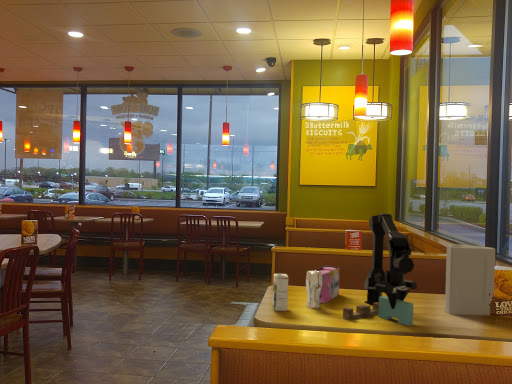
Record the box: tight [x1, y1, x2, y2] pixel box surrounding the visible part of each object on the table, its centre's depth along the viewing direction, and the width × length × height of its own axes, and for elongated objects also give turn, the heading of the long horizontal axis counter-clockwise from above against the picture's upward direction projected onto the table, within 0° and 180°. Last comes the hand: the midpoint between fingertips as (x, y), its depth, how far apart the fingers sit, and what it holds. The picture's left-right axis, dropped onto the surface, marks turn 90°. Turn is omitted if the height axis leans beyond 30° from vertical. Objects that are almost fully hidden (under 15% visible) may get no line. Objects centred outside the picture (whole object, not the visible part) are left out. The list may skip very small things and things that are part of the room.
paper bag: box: [444, 243, 496, 316], centre depth 195 cm, size 19×15×28 cm
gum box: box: [312, 265, 340, 304], centre depth 210 cm, size 24×8×14 cm, turn 154°
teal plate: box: [377, 295, 414, 327], centre depth 175 cm, size 14×3×8 cm, turn 35°
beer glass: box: [305, 270, 322, 309], centre depth 193 cm, size 7×7×15 cm
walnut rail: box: [342, 302, 379, 321], centre depth 180 cm, size 20×3×4 cm, turn 125°
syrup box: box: [271, 273, 289, 312], centre depth 186 cm, size 6×6×14 cm
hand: (395, 308), depth 175 cm, fingers closed on teal plate, 3 cm apart
